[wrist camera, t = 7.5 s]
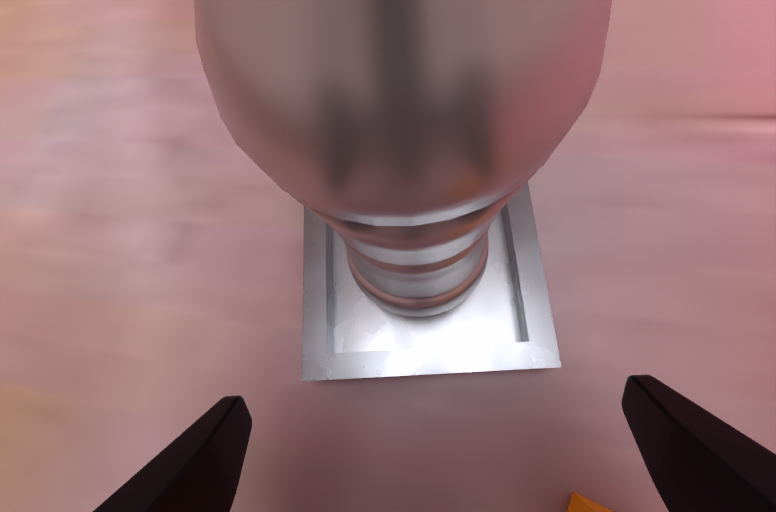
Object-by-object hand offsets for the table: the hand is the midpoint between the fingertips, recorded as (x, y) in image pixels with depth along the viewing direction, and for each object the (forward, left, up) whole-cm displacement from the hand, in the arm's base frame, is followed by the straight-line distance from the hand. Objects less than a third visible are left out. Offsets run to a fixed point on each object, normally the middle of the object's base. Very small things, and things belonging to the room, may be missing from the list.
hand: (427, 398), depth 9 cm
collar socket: (+6, +2, -11) cm, 13 cm away
